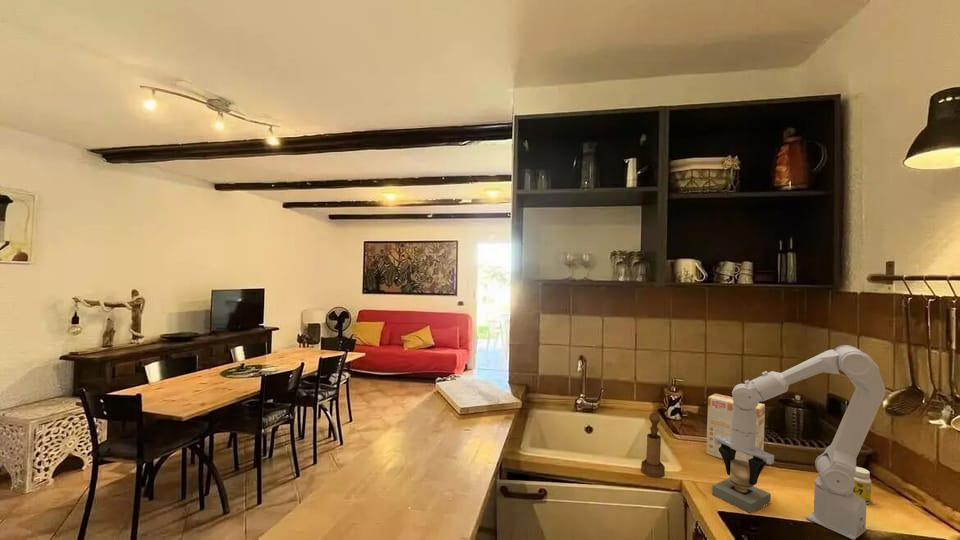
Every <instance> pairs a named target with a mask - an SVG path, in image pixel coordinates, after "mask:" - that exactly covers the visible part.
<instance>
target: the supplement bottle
mask: <svg viewBox="0 0 960 540" xmlns="http://www.w3.org/2000/svg"><path fill="white" fill-rule="evenodd" d="M870 472H871V471H869V470H868V469H866V468H864V467H860V466H856V472H855V474H854V481H855V487H854V489H853V493H854V494H856V495H857V496H859V497H861V498H863V499H864V500H865V501H866V505H869V504H870V503H871V497H872V496H871V495H872V479H871V478H870V475H871V473H870Z"/></svg>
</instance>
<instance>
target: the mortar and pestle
mask: <svg viewBox="0 0 960 540" xmlns="http://www.w3.org/2000/svg"><path fill="white" fill-rule="evenodd" d="M648 417H649V421H650V423H651V426H650V427H649V430H650V433H648V434H647V435H646V455H645V456H646V458H645V459H644V460H642V461H641V465H640V466H641V467H640V470H641V472H642V473H643V474H645V475H646V476H649V477H652V478H662V477H664V476H665V471H666V466H665V465H664V464H663V463H662V462H661V446H662V445H661V444H662V442H661V441H662V437H661V435H659V434H658V433H659V428H658V424H659V423H660V420H661V416H660V415H659V414H658V413H656V412H651V413H650V415H649V416H648Z"/></svg>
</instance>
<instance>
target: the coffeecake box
mask: <svg viewBox="0 0 960 540" xmlns="http://www.w3.org/2000/svg"><path fill="white" fill-rule="evenodd" d="M732 405H733V398H732V396H729V395H723V394H719V393H714V394H712V395H709V396H708V397H707V419H706V421H707V423H706V447H705V448H706V449H705V450H706V451H705V452H706V455H709V456H712V457H716V458H717V459H718V458H719V459H722V460H723V458H722V456H721V454H720V452H719V448H720V447H721V444H716V443H714V436H717V435H720V436H723V437H726V438H730V439H731V419H732V410H733V408H732ZM765 412H766V404H765V403H762V402H761V403H760V402H759V403H758V405H757V407H756V415H757V418H756V444H755V447H757V448H759V449H761V450H763V451H765V450H764V445H765V444H764V443H765V421H766V420H765V417H766V416H765V415H766V413H765ZM751 458H753V457H752V456H750V455H747V454H744V453H742V452H739V451H737V450H736V454H735V459H737V460H743V461H746V462H748V460H749V459H751Z"/></svg>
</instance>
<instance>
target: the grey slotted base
mask: <svg viewBox="0 0 960 540" xmlns="http://www.w3.org/2000/svg"><path fill="white" fill-rule="evenodd" d="M711 488H712V489H711V491H712V492H711V493H712V496H715V497H716V498H718V499H721V500H723V501H725V502H727V503H729V504H731V505H733V506H735V507H737V508H739V509H740V510H743V511H744V512H747V513H749V514H752V512H753V513H754V511H755V512H756V511H758V510H759V508H760V509H761V507H762V508H763V506H764V505H766V504H768V503H769V502H770V503H771V500H772V499H771V493H770V492H769V491H765V490H764V489H761V488H759V487H756V486H755V485H753V487H750V488H749V489H748V490H747V494H741V493H739V492H737V491H735V486H734V483H732V482H731V481H730V477H729V478H726V479H723V480H721V481H720V482H717V483H715V484H713V485H712V486H711ZM770 503H769V504H770ZM769 504H768V505H769ZM766 506H767V505H766ZM764 507H765V506H764Z"/></svg>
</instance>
